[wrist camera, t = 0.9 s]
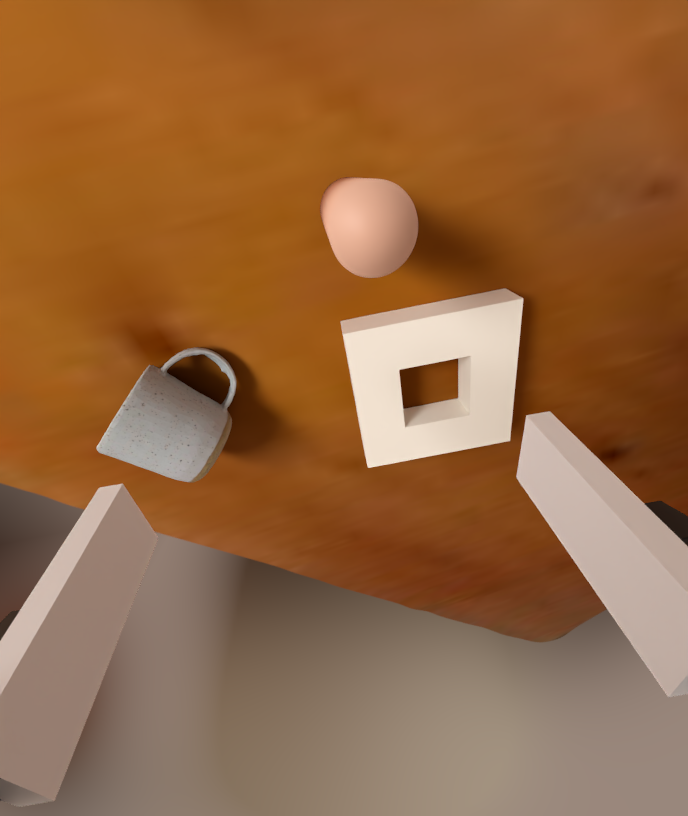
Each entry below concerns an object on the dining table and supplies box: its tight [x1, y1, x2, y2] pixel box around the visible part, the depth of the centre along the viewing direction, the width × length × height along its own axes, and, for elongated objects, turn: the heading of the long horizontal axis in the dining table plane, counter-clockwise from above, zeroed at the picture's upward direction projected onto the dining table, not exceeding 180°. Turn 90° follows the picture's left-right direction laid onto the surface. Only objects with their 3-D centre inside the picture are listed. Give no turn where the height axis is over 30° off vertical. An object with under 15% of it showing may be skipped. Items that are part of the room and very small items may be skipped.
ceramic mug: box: [97, 347, 236, 482], centre depth 30 cm, size 11×8×8 cm
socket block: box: [340, 288, 523, 468], centre depth 33 cm, size 14×14×3 cm
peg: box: [320, 177, 418, 278], centre depth 22 cm, size 4×4×12 cm
